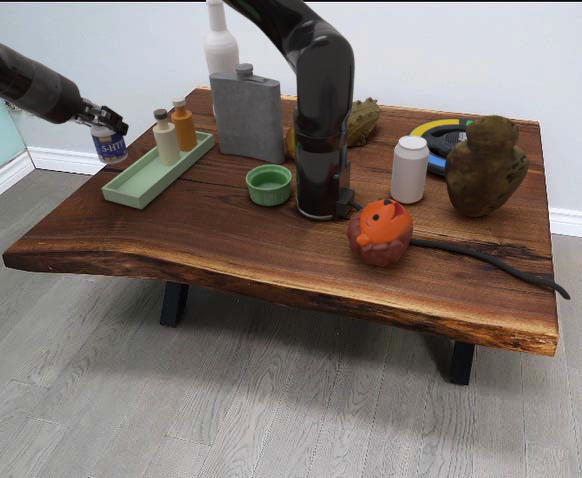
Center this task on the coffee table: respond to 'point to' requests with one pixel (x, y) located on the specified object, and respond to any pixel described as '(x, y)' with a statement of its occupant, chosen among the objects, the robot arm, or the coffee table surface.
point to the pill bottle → (108, 145)
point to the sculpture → (485, 166)
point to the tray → (152, 175)
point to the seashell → (362, 121)
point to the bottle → (220, 42)
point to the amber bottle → (183, 125)
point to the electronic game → (441, 139)
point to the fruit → (290, 142)
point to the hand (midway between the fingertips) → (113, 128)
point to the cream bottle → (166, 139)
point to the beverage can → (409, 169)
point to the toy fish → (380, 232)
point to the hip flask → (248, 114)
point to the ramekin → (269, 184)
